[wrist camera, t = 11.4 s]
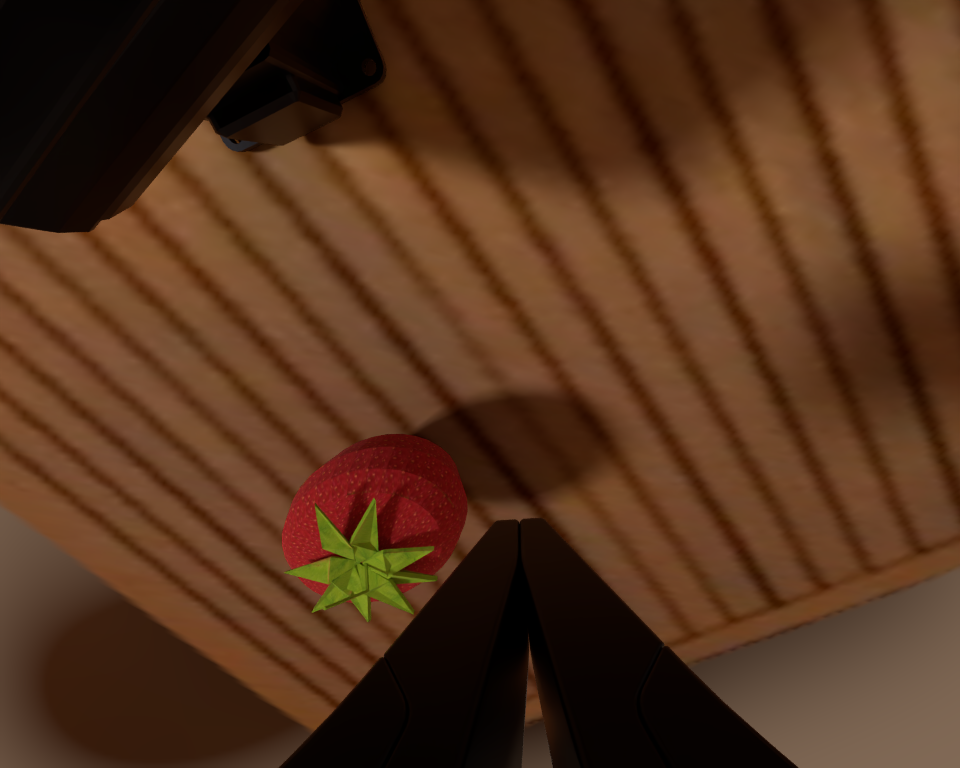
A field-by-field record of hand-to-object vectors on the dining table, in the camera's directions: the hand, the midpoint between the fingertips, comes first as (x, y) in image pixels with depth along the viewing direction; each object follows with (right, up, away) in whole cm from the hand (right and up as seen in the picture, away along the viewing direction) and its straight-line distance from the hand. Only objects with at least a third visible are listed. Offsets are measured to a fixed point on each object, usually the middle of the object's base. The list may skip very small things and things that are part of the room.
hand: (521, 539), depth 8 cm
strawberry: (-4, 0, +15) cm, 16 cm away
